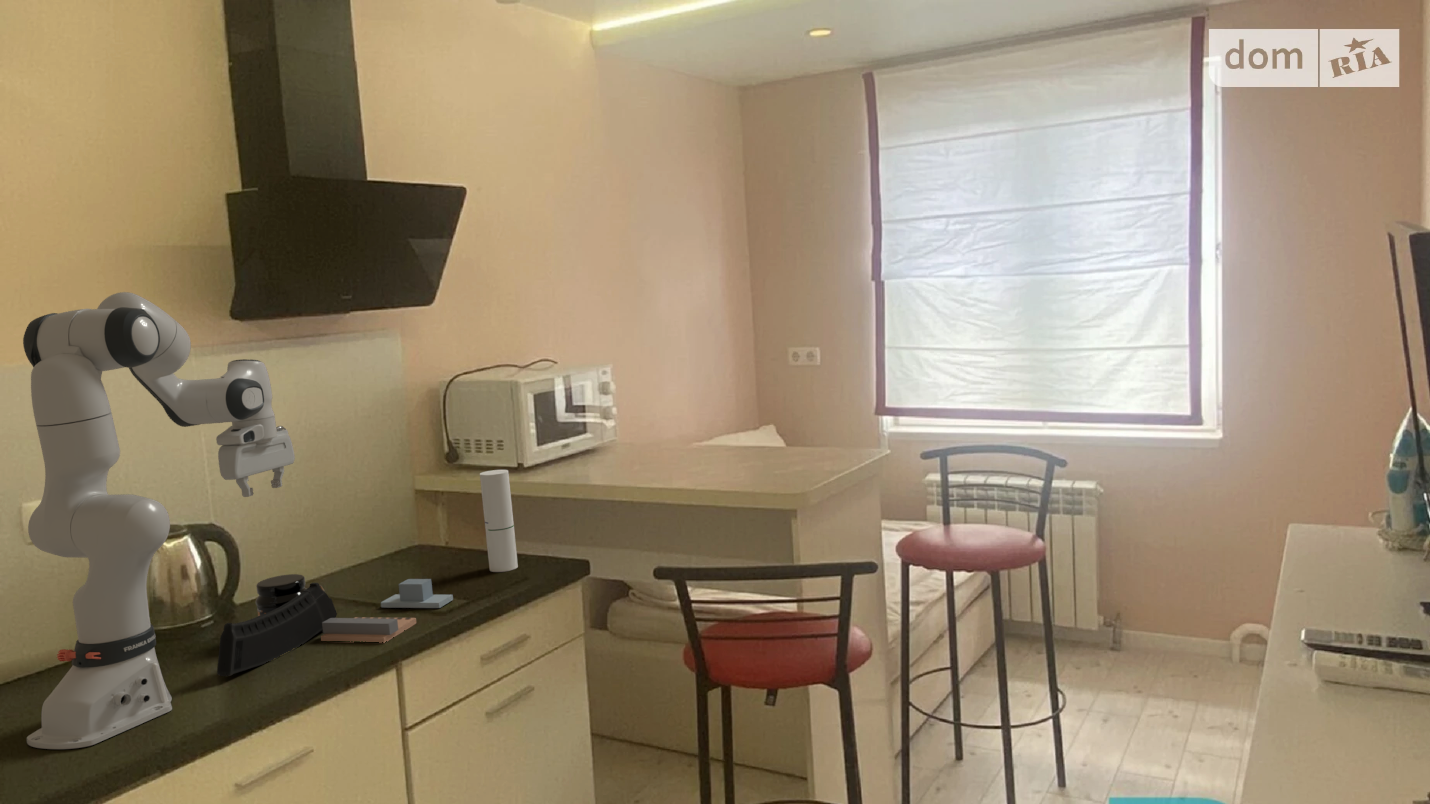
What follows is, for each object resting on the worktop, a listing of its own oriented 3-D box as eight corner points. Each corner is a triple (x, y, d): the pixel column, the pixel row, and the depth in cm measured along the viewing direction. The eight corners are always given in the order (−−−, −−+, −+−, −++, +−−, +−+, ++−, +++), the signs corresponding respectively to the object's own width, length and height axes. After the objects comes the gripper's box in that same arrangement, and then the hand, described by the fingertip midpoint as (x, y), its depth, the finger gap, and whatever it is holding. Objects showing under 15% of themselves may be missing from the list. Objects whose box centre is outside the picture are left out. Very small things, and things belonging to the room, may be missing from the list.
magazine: (214, 640, 183) (316, 553, 209) (201, 640, 184) (303, 553, 210) (246, 714, 189) (340, 620, 216) (232, 713, 190) (328, 619, 217)
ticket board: (386, 643, 202) (384, 626, 201) (319, 641, 206) (317, 625, 206) (418, 623, 213) (416, 607, 213) (354, 622, 217) (352, 606, 217)
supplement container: (250, 638, 212) (243, 584, 210) (296, 623, 220) (289, 571, 219) (277, 646, 205) (270, 590, 204) (323, 630, 214) (316, 576, 213)
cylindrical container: (509, 562, 259) (500, 468, 256) (522, 567, 253) (513, 471, 251) (484, 569, 254) (474, 473, 252) (497, 573, 249) (487, 476, 246)
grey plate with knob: (439, 608, 223) (437, 585, 222) (381, 607, 227) (378, 585, 226) (453, 599, 228) (450, 577, 228) (396, 599, 232) (393, 577, 232)
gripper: (274, 425, 232) (282, 482, 234) (210, 438, 213) (218, 501, 214) (297, 423, 231) (304, 482, 232) (234, 437, 211) (242, 501, 213)
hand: (262, 491), depth 223 cm, fingers open, 8 cm apart
